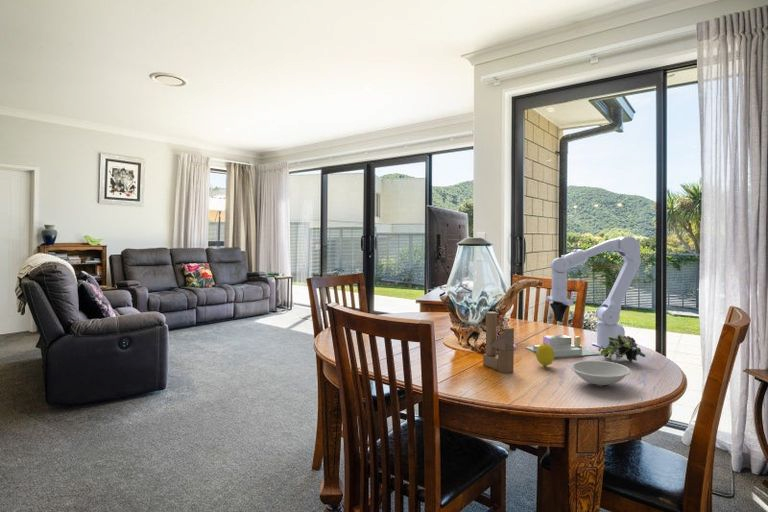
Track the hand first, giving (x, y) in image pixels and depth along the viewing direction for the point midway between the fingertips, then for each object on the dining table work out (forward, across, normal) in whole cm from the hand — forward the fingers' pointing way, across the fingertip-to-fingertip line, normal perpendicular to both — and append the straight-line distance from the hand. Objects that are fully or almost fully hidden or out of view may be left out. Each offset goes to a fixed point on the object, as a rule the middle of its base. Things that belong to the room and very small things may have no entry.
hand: (558, 320), depth 167 cm
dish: (+10, +45, -19) cm, 50 cm away
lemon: (+10, +26, -24) cm, 37 cm away
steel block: (+9, +13, -10) cm, 19 cm away
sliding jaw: (+9, +10, -7) cm, 15 cm away
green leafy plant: (+10, +27, +4) cm, 29 cm away
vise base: (+9, +11, -6) cm, 16 cm away
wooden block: (+10, +24, -40) cm, 48 cm away
